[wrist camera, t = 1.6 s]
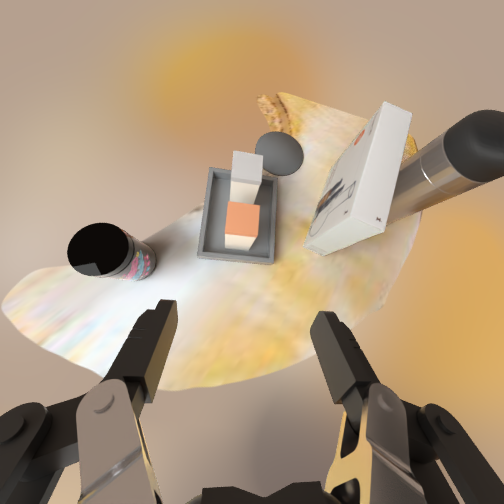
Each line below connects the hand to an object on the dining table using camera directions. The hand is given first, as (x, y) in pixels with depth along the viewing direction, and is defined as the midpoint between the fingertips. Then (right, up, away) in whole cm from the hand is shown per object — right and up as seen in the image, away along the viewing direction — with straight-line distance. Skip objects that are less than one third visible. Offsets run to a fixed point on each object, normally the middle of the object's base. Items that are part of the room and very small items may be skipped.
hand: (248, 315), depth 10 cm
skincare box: (+16, +13, +30) cm, 37 cm away
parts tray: (-2, +10, +27) cm, 29 cm away
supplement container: (-20, +2, +22) cm, 30 cm away
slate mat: (+6, +26, +31) cm, 41 cm away
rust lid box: (-3, +6, +25) cm, 26 cm away
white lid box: (-2, +14, +27) cm, 31 cm away
